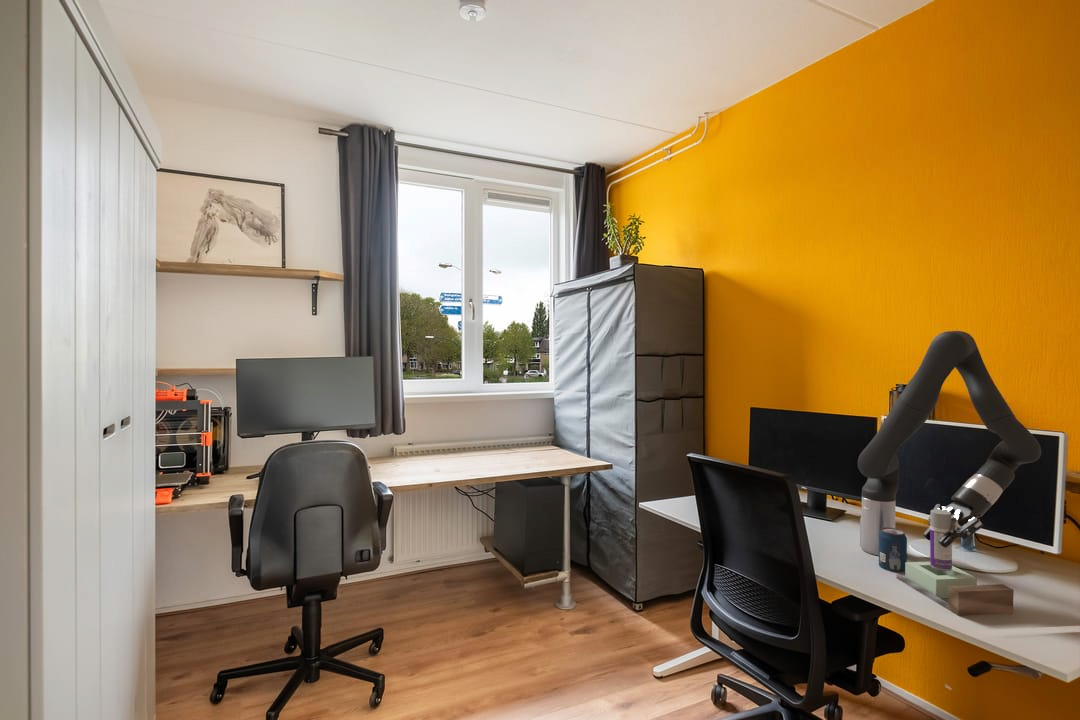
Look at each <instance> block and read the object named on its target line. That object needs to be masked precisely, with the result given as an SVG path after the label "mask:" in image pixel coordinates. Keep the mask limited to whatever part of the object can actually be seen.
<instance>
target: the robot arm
mask: <svg viewBox="0 0 1080 720" xmlns="http://www.w3.org/2000/svg"><path fill="white" fill-rule="evenodd" d="M932 339H933V340H932V341H931V342H930V344H929V346H928V348H927V351H926V353H925V355H924V356H923V359H922V361H921V364H920V365H919V367H918V369H917V370H916V371H915V373H914V374H913V376H912V377H911V379H910V380H909V382H908V383H907V384H906V386H905V387H904V389H903V390H902V392H901V393H900V394H899V396H898V397H897V399H896V400H895V402H894V404H893V406H892V407H891V409H890V411H889V412H888V414H887V416H886V418H885V419H884V421H883V423H882V424H881V426H880V428H879V429H878V431H877V433H875V435H874V437H873V438H872V439H871V440H870V442H869V443H868V444H867V445H866V447H865V448H864V449H863V450H862V451H861V453H860V454H859V456H858V458H857V468H858V471H859V472H860V473H861V474H862V476H864V477H866V478H867V479H866V481H865V483H864V485H863V486H862V488H861V517H860V518H859V546H860V547H861V550H862V551H864V552H866V553H868V554H871V555H875V556H879V534H880V532H881V531H882V530H881V529H882V528H896V501H897V500H896V498H897V497H896V496H897V492H898V491H899V483H900V481H899V480H900V461H899V458H898V456H897V452H898V450H899V449H900V448H901V446H902V445H903V444H904V443H905V442H907V440H909V439H910V438H911V437H912V436H913V435H914V434H915V433H917V432H918V431H919V429H921V428H922V426H923V425H924V424H925V423H926V421H927V420H928V418H929V417H930V416H931V414H932V412H933V411H934V410H935V408H936V406H937V403H938V400H939V398H940V394H941V390H942V387H943V385H944V383H945V381H946V380H947V378H948V377H949V376H950V375H951V373H952V372H953V370H955V369H956V370H957V372H958V373H959V375H960V376H961V378H962V380H963V382H964V384H965V386H966V388H967V391H968V395H969V398H970V401H971V403H972V406H973V407H974V409H975V412H976V413H977V415H978V416H979V419H981V421H982V423H983V425H984V426H985V427H986V429H987V430H988V431H989V432H991V433H994V434H997V435H998V436H999V438H1000V439H1001V441H1000V442H999V443H998V444H997V445H996V446H995V447H994V448H993V450H992V451H991V452H990V454H989V456H988V458H987V460H986V461H985V463H984V464H983V465H981V467H980V468H978V470H977V471H976V472H975V473H974V474H973V475H972V476H971V477H969V478H968V479H967V480H966V481H965V483H964V484H962V486H961V487H960V488H959V489H958V490H957V491H956V492H955V493H954V494H953V495H952V496H951V502H950V503H949V504H947V505H946V506H941V504H940V503H937V504H935V506H934V508H933V509H932V510H935V509H936V510H945V511H948V512H950V513H951V525H952V526H951V528H950V530H949V532H947V533H946V534H945V535H944V536H943V537H942V538H941V539H940V540H939V544H940V545H941V546H943V547H945V548H946V547H947V546H949V545H950V544H951V543H952V544H953V542H954V541H955V540H956V539H960V538H961V539H962V540H966V539H968V538H969V537H970V536H972V535H973V534H975V533H976V532H978V531H979V530H980V529H982V528H983V527H984V524H983V523H982V521H980V519H978V518H982V517H983V516H984V514H986V513H987V511H988V510H989V509H990V508H991V507H992V506H993V505H994V504H995V503H996V502H997V501H998V499H999V498H1000V496H1001V495H1002V493H1003V492H1004V491H1005V490H1006V489H1007V488H1008V487H1009V486H1010V485H1011V484H1012V483H1013V481H1014V480H1015V472H1016V470H1017V469H1018V468H1019V467H1020V466H1022V465H1025V464H1032V463H1034V462H1036V461H1038V460H1039V459H1040V457H1041V456H1042V448H1041V445H1040V442H1039V441H1038V440H1037V438H1036V437H1035V436H1034V435H1033V434H1032V433H1031V432H1030V430H1029V429H1028V428H1026V426H1025V425H1024V424H1023V423H1021V422H1020V421H1019V420H1018V419H1017V417H1016V416H1015V413H1014V411H1012V409H1011V407H1010V405H1009V404H1008V403H1007V402H1006V400H1005V398H1004V396H1003V395H1002V394H1001V392H1000V390H999V389H998V387H997V385H996V384H995V381H994V380H993V378H992V376H991V375H990V373H989V371H988V368H987V366H986V365H985V363H984V360H983V357H982V355H981V353H980V350H979V347H978V345H977V343H976V340H975V338H974V337H973V336H972V334H970V333H968V332H966V331H962V330H949V331H948V330H947V331H944V332H941V333H939V334H937V335H936V336H935V337H934V338H932ZM930 516H931V513H930V514H929V516H928V518H927V521H928V522H929V523H930ZM965 531H966V532H965ZM923 536H924V538H925V539H926V540H928V541H930V526H929V527H927V529H926V530H925V531H924V533H923Z"/></svg>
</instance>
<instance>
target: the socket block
mask: <svg viewBox="0 0 1080 720" xmlns="http://www.w3.org/2000/svg"><path fill="white" fill-rule="evenodd" d="M904 573H905V574H904V577H905V578H907V579H908V580H910V581H912V582H913V583H915V584H917V585H919V586H920V587H922V588H924V589H925V590H927V591H929V592H930V593H932V594H934V595H935V596H937V597H939V598H940V599H948V595H949V586H967V585H978V578H977V577H975V576H974V575H972V574H970V573H968V572H966V571H964V570H962V569H960V568H958V567H955V566H954V565H952V570H950V571H942V570H937V569H934V568H932V567H931V566H930V561H911V562H908V561H907V562H905V572H904Z"/></svg>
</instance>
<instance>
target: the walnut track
mask: <svg viewBox="0 0 1080 720" xmlns="http://www.w3.org/2000/svg"><path fill="white" fill-rule="evenodd" d="M895 576H896V578H895V579H897V580H898V581H901V582H902V583H903V584H904V585H907V586H908V587H910V588H911V589H913V590H914V591H916V592H918V593H920V594H922V595H923V596H925V597H926V598H928V599H930V600H931V601H933V602H935V603H936V604H938V605H940V606H941V607H943V608H944V609H946V610H947V611H950V613H953V614H955V615H956V617H957V616H958V617H965V616H989V615H990V616H991V615H992V616H993V615H1011V614H1012V615H1013V614H1014V596H1015V593H1014V588H1011V587H1009V586H1007V585H1005V584H1004V583H1001V584H998V583H996V584H977V585H967V586H949V595H948V598H947V600H948V602H947V601H945V600H944V599H943V598H939V597H937V596H935V595H934V594H932V593H930V592H929V591H927V590H925V589H924V588H922V587H920V586H919V585H917V584H915V583H913V582H912V581H910V580H908V579H907V578H905V576H904V575H901V574H896V575H895Z"/></svg>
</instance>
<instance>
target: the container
mask: <svg viewBox="0 0 1080 720" xmlns="http://www.w3.org/2000/svg"><path fill="white" fill-rule="evenodd" d="M930 514H931V516H930V515H929V516H930V522H929V525H930V526H929V527H930V540H929V546H930V547H929V550H930V552H929V553H930V554H929V555H930V557H929V558H930V559H929V560H930V561H929V562H930V566H931V567H932V568H934V569H937V570H942V571H950V570H952V566H953V542H952V543H951V544H950V545H949V546H947V547H946V548H945V547H943V546H941V545H940V544H939V540H940V539H941V538H942V537H943V536H944V535H945V534H946V533H947V532H949V530H950V528H951V526H952V525H951V513H950V512H948V511H945V510H936V509H935V510H933V509H931V510H930Z"/></svg>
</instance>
